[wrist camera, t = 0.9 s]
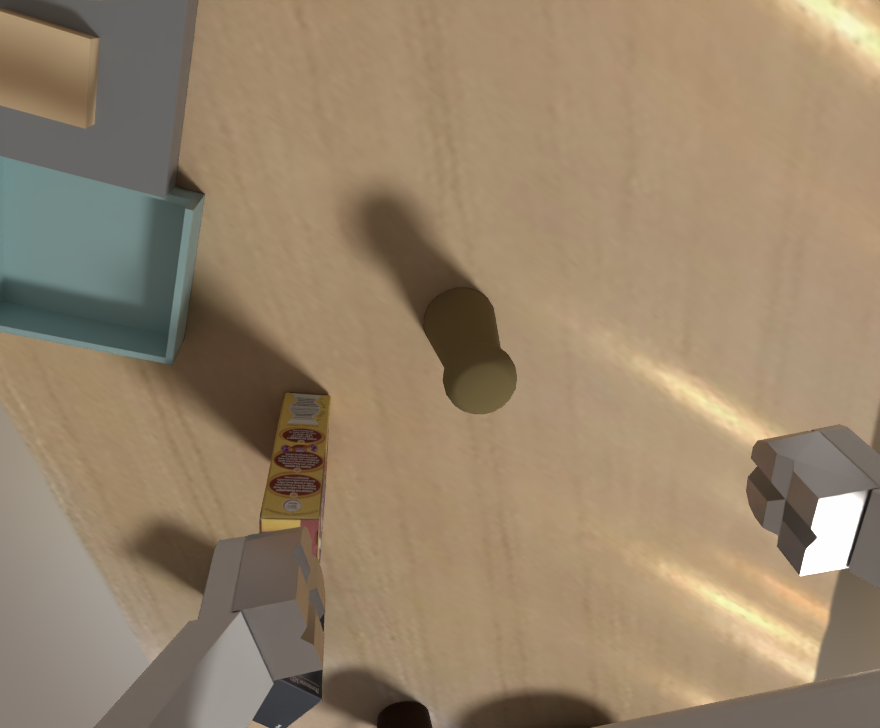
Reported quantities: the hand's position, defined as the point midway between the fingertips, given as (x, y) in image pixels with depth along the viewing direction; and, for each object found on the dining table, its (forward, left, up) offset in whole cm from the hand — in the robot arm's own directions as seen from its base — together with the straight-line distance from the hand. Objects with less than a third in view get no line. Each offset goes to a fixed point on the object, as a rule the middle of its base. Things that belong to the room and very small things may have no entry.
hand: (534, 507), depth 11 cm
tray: (+14, -18, -39) cm, 45 cm away
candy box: (+27, -1, -39) cm, 47 cm away
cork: (+13, +9, -39) cm, 42 cm away
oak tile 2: (+2, -21, -36) cm, 41 cm away
